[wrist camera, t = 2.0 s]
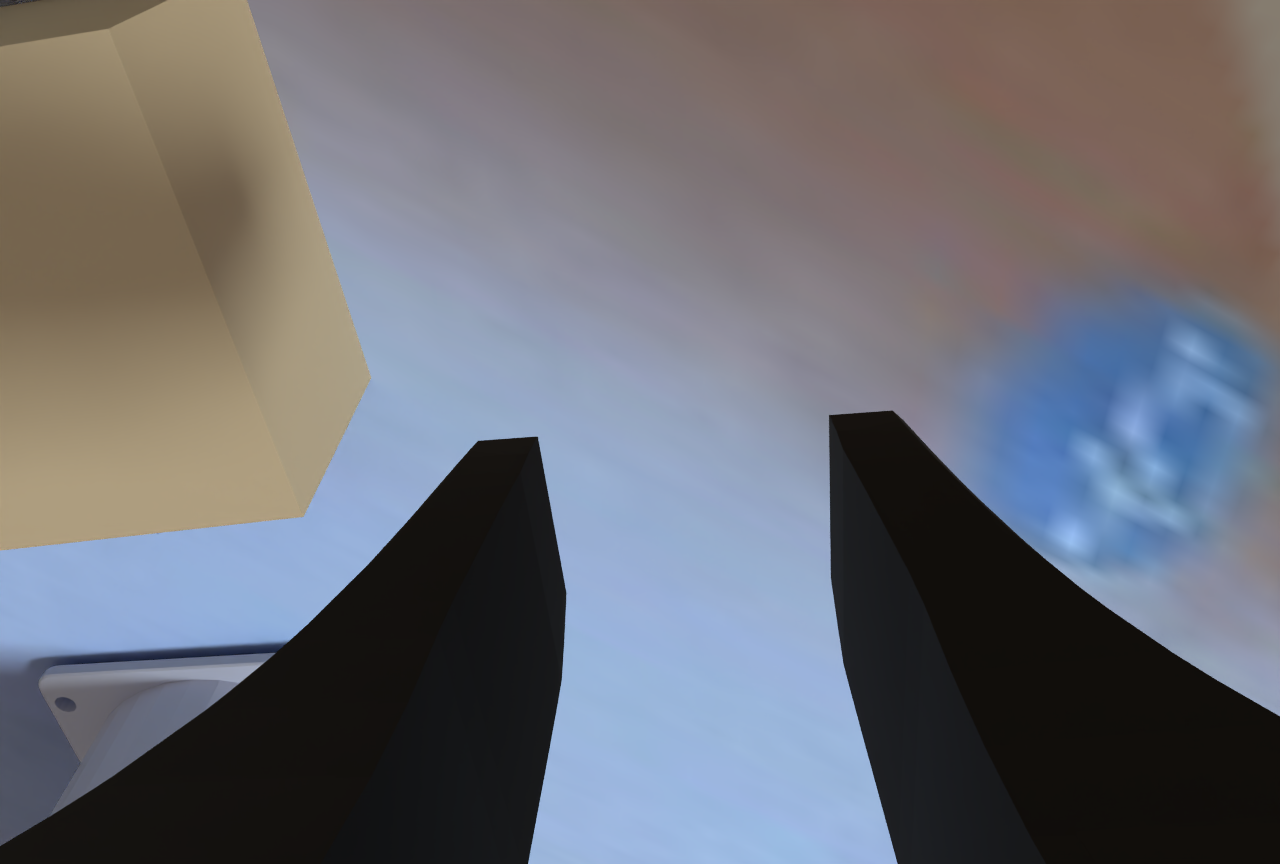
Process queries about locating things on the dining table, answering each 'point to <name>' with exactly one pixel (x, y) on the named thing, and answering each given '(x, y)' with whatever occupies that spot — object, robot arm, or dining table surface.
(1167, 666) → the robot arm
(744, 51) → the dining table surface
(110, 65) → the carton
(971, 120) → the dining table surface
